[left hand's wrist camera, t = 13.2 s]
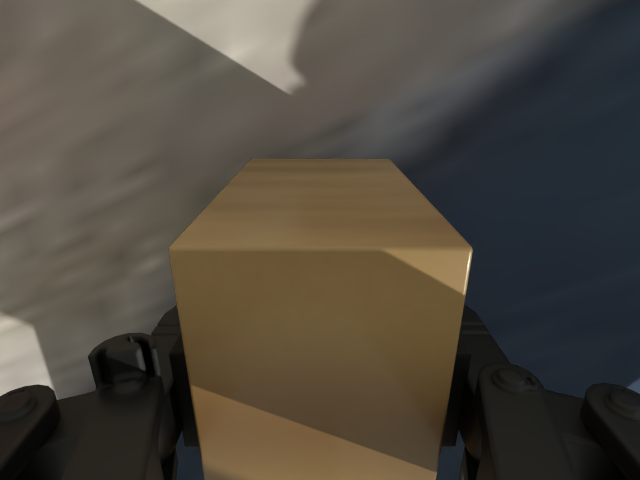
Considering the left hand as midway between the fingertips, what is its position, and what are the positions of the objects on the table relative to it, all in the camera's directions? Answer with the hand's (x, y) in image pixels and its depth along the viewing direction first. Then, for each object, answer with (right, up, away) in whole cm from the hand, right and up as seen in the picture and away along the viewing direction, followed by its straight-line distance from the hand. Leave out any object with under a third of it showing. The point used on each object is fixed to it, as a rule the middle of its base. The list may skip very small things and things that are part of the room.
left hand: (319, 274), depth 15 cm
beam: (0, -24, +10) cm, 26 cm away
